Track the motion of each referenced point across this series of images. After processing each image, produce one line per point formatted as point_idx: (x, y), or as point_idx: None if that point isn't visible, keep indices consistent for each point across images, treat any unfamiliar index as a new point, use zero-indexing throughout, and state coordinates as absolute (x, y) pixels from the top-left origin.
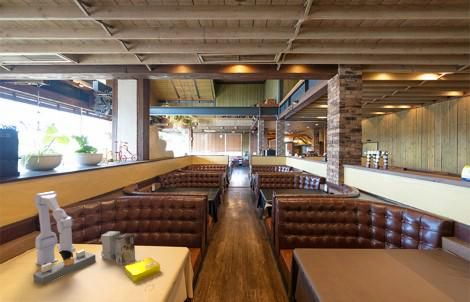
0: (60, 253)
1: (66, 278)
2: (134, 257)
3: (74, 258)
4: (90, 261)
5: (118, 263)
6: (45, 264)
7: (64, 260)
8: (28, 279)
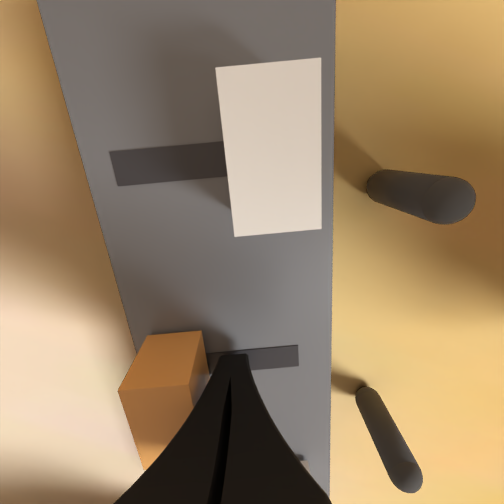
0: (266, 492)
1: (66, 248)
2: None
3: (295, 441)
4: None
5: None
6: (310, 146)
7: (179, 381)
8: (430, 13)
